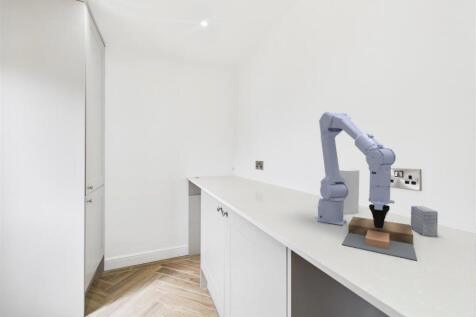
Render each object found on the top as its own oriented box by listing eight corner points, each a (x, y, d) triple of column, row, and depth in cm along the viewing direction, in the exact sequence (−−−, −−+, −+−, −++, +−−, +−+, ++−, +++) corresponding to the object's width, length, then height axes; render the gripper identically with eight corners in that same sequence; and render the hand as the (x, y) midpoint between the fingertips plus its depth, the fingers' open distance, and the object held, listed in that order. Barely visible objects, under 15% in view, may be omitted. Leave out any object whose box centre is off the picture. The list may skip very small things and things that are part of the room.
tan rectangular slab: (365, 244, 69) (365, 238, 69) (367, 235, 76) (367, 229, 76) (389, 249, 66) (389, 242, 66) (389, 239, 73) (389, 233, 73)
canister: (359, 209, 114) (360, 169, 113) (357, 215, 102) (358, 171, 102) (330, 206, 121) (330, 168, 120) (325, 211, 109) (326, 169, 108)
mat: (341, 245, 69) (341, 244, 69) (347, 233, 79) (347, 232, 79) (417, 261, 59) (417, 259, 59) (413, 245, 69) (413, 244, 69)
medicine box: (437, 237, 77) (438, 211, 77) (422, 236, 78) (423, 210, 78) (423, 229, 85) (424, 206, 84) (410, 228, 85) (410, 205, 85)
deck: (348, 232, 80) (348, 224, 80) (352, 224, 90) (353, 216, 90) (412, 244, 70) (413, 234, 70) (410, 233, 80) (410, 224, 80)
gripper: (395, 189, 65) (394, 236, 66) (394, 184, 78) (393, 224, 78) (367, 187, 69) (366, 232, 70) (370, 182, 81) (369, 220, 82)
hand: (378, 227), depth 74 cm, fingers closed
